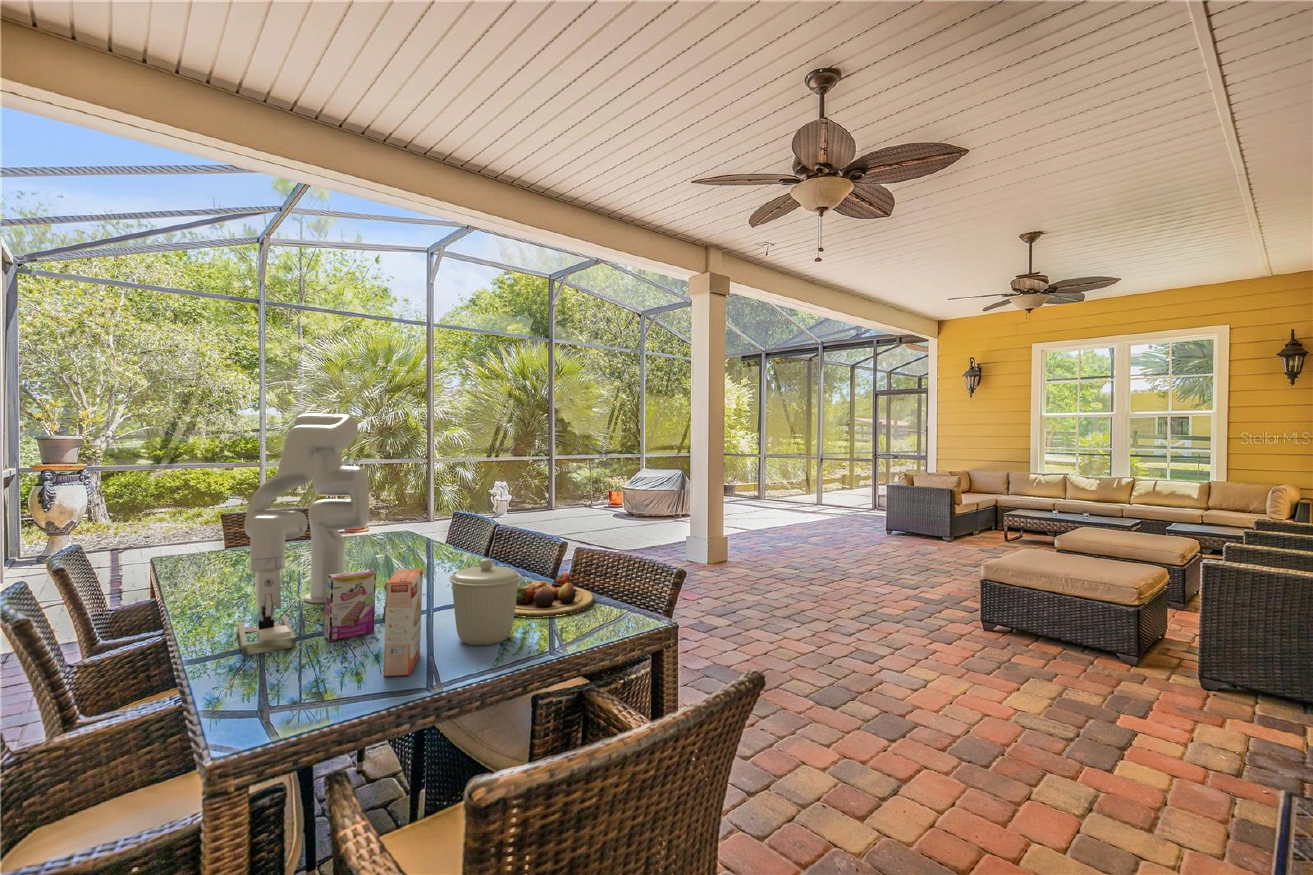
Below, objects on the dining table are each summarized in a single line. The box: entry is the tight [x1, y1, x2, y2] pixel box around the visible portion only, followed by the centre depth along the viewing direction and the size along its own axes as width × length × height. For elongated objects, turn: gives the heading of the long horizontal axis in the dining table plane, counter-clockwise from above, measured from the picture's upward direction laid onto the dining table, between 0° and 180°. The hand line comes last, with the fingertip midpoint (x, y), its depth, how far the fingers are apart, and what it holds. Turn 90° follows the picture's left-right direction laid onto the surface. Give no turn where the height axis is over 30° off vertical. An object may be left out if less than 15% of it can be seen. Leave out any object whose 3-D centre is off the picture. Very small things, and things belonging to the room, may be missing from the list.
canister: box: [449, 558, 522, 646], centre depth 159 cm, size 18×18×21 cm
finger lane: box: [237, 615, 297, 656], centre depth 157 cm, size 11×23×2 cm, turn 37°
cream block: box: [257, 625, 291, 642], centre depth 152 cm, size 6×6×4 cm
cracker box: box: [383, 568, 424, 677], centre depth 140 cm, size 14×6×21 cm, turn 12°
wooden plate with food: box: [514, 572, 594, 617], centre depth 194 cm, size 32×32×8 cm
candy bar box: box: [323, 569, 377, 642], centre depth 160 cm, size 11×5×16 cm, turn 134°
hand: (266, 635), depth 156 cm, fingers closed
